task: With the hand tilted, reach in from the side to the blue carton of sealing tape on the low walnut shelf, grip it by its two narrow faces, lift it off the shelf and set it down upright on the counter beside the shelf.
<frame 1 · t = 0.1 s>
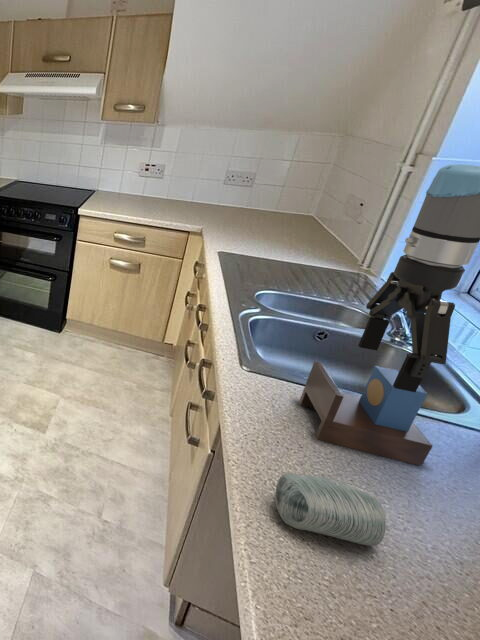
hand: (384, 367, 76), 18 cm above the counter, tool pointing down, fingers open, 13 cm apart
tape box: (382, 416, 82), point 5 cm above the counter, touching shelf
shelf: (354, 431, 85), on the counter
spool: (319, 525, 66), on the counter
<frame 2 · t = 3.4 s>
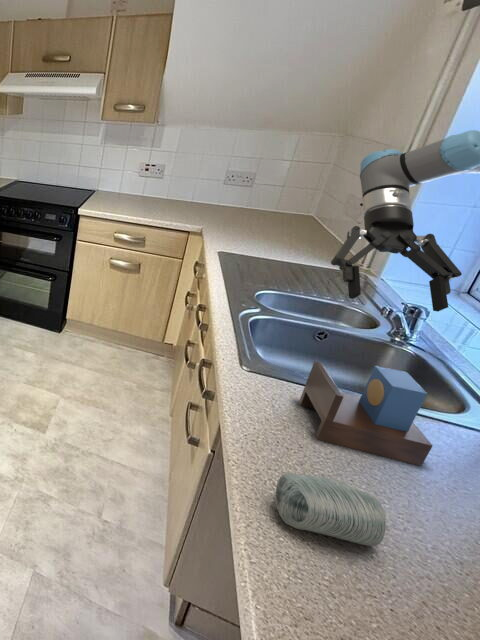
hand: (396, 302, 84), 26 cm above the counter, tool tilted 45°, fingers open, 13 cm apart
nothing on the counter moved.
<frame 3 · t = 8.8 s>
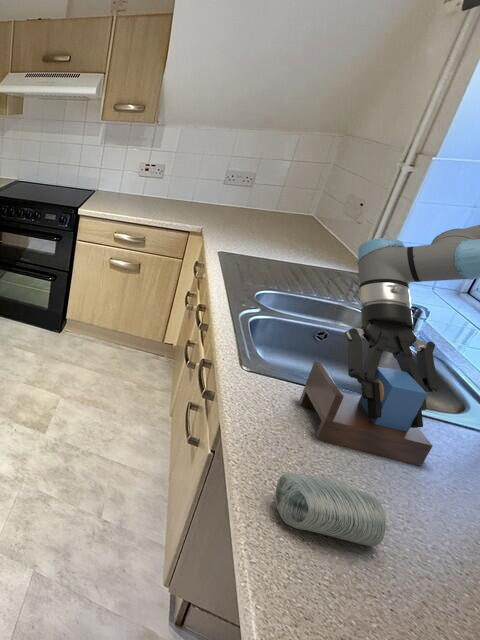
hand: (394, 421, 78), 7 cm above the counter, tool tilted 45°, fingers closed on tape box, 5 cm apart
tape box: (382, 416, 82), point 5 cm above the counter, touching gripper, shelf
everything else where it was.
when the fingers open (2 cm above the counter, at t = 17.7 s): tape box stays where it is, on the counter.
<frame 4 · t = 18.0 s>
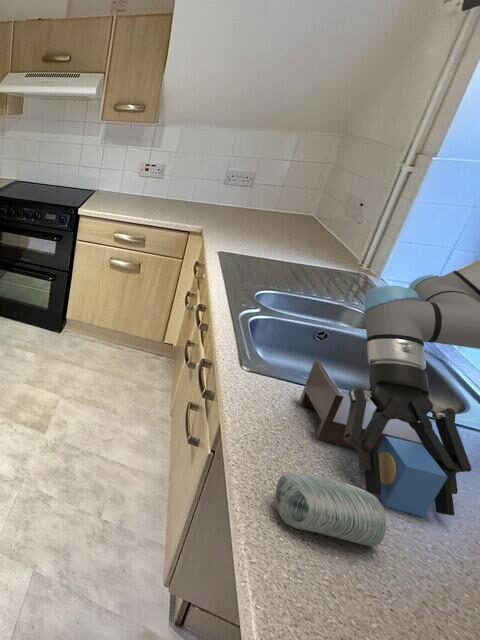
hand: (408, 503, 68), 2 cm above the counter, tool tilted 45°, fingers open, 8 cm apart
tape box: (393, 494, 71), on the counter
everything else where it was.
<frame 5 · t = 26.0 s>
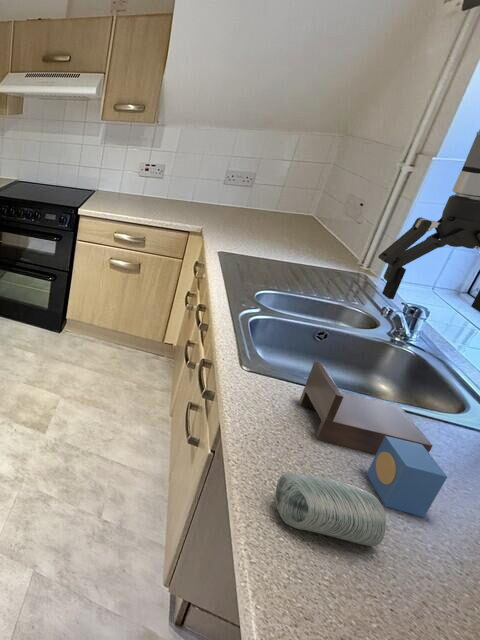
hand: (431, 303, 81), 27 cm above the counter, tool pointing down, fingers open, 13 cm apart
nothing on the counter moved.
at the end: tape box inside the target area (0.1 cm from its centre), on the counter; the gripper is holding nothing; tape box tilted 0° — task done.
